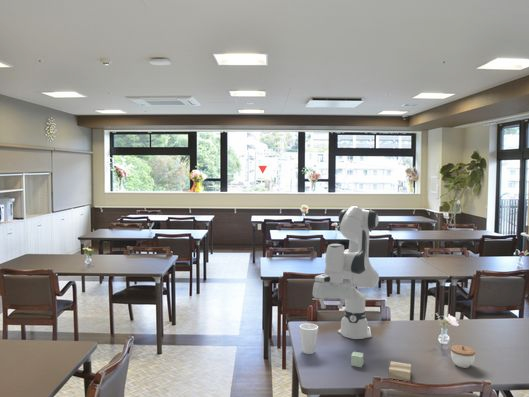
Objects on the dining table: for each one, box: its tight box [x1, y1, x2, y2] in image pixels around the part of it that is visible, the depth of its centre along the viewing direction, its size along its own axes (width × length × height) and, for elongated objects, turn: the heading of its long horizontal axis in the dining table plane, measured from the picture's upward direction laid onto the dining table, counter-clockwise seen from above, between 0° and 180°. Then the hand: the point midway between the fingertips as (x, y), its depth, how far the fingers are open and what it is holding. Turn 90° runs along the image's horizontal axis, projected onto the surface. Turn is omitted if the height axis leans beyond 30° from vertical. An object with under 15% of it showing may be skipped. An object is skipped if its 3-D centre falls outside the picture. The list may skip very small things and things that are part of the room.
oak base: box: [388, 360, 412, 382], centre depth 197 cm, size 9×9×4 cm
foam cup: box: [299, 322, 319, 355], centre depth 223 cm, size 10×9×13 cm
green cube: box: [350, 351, 364, 368], centre depth 208 cm, size 5×5×5 cm
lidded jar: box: [450, 344, 476, 369], centre depth 209 cm, size 11×11×9 cm
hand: (331, 308), depth 201 cm, fingers open, 8 cm apart
